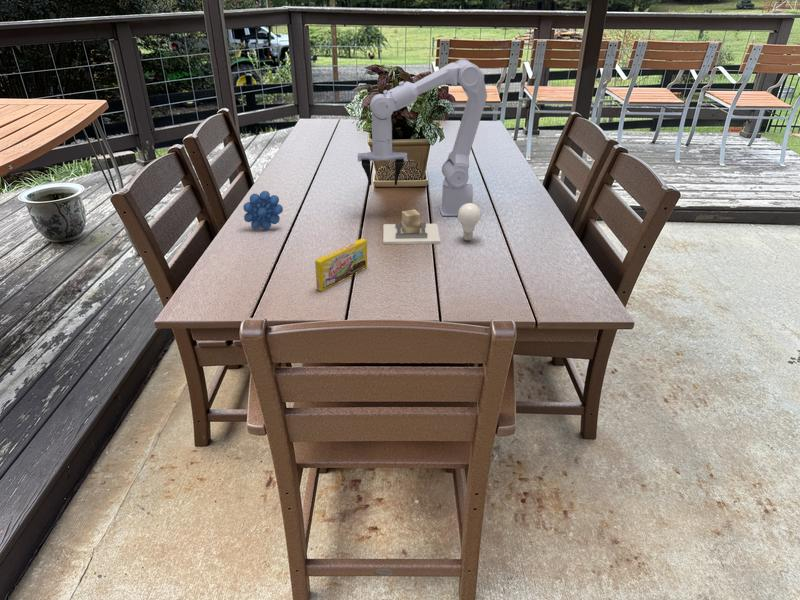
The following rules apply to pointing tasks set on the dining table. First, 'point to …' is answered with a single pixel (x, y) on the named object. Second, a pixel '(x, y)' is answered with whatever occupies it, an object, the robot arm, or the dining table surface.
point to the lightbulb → (469, 219)
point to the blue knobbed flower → (262, 210)
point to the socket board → (410, 234)
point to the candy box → (340, 264)
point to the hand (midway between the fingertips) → (383, 184)
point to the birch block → (410, 221)
